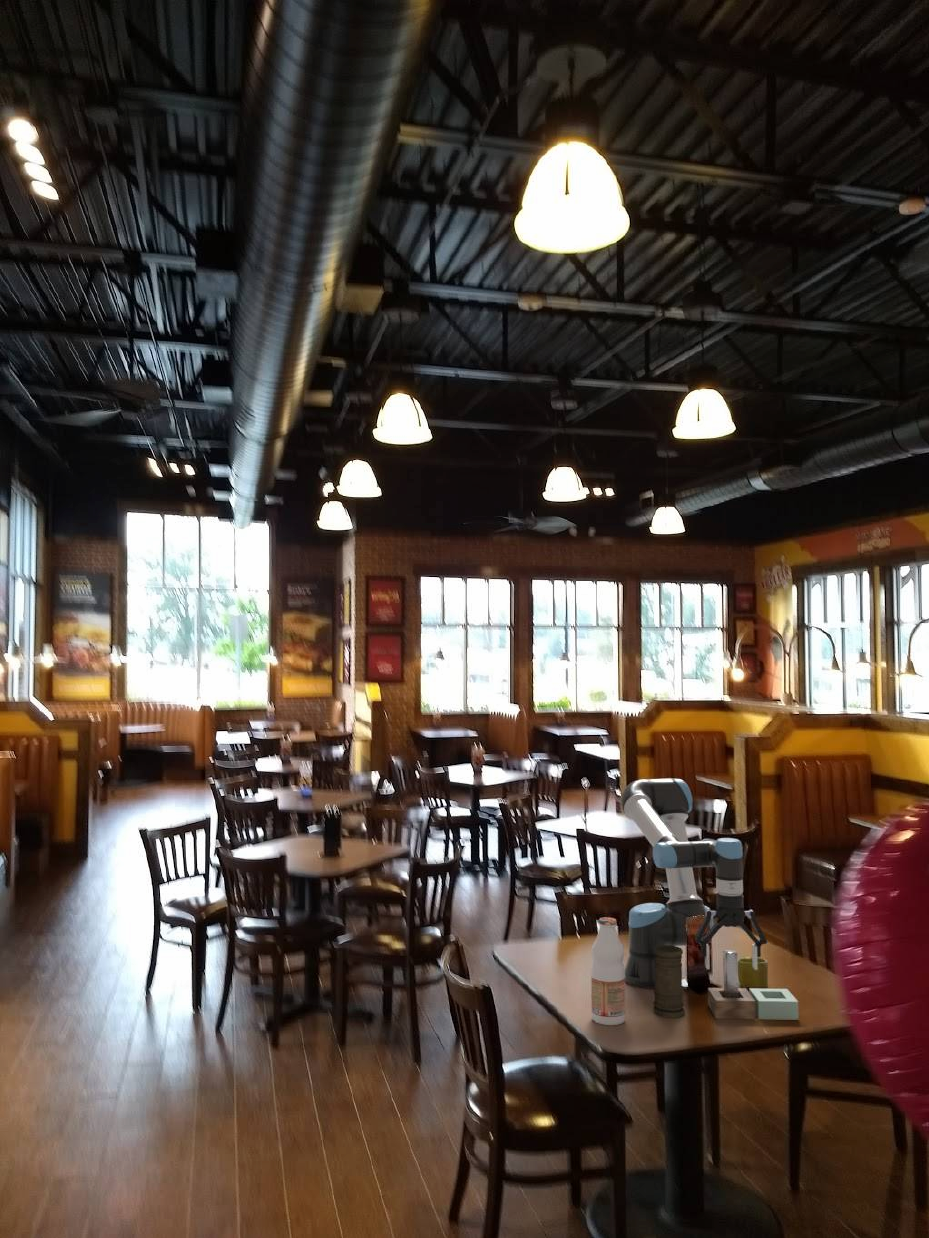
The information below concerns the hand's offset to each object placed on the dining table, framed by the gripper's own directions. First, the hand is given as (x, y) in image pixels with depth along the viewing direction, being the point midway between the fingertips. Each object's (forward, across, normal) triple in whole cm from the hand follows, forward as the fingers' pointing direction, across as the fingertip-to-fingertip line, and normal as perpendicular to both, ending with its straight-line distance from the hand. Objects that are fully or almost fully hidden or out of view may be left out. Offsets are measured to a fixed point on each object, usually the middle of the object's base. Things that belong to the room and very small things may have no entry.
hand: (731, 968), depth 282 cm
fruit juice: (+13, -36, -8) cm, 39 cm away
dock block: (+12, +12, 0) cm, 17 cm away
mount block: (+12, 0, 0) cm, 13 cm away
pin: (+12, 0, 0) cm, 13 cm away
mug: (+12, +12, +25) cm, 31 cm away
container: (+13, -18, -1) cm, 22 cm away
